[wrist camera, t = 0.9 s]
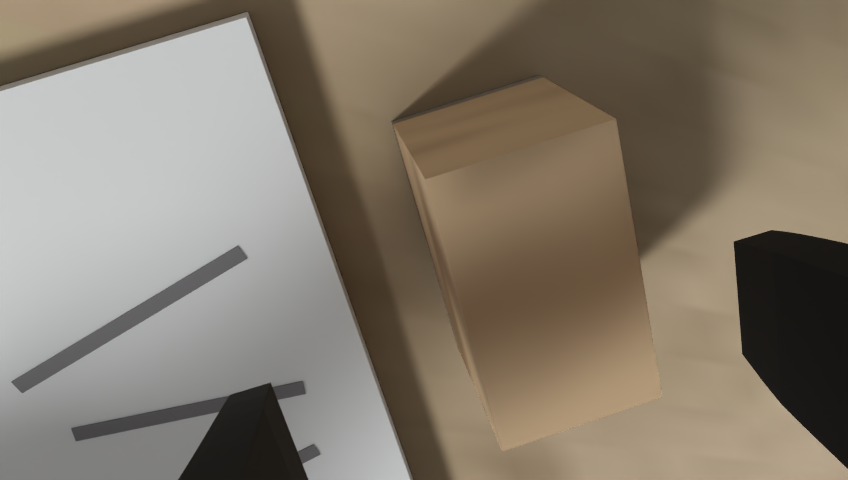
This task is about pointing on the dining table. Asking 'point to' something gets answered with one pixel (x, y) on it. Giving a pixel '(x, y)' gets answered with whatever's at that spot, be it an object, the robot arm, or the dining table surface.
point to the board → (170, 270)
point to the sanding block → (534, 255)
